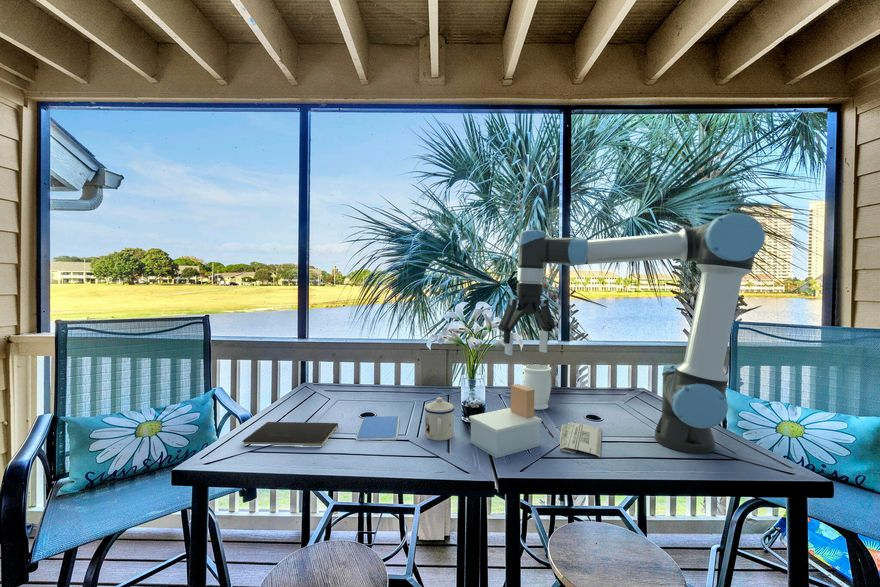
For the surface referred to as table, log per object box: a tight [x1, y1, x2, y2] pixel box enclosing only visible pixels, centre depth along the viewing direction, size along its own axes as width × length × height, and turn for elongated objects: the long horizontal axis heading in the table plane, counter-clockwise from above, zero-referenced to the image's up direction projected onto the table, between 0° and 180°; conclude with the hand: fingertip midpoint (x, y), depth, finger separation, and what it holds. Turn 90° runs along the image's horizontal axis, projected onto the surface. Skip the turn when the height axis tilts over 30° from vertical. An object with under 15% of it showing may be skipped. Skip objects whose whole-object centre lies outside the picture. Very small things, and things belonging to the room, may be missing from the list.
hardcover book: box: [241, 421, 339, 447], centre depth 123 cm, size 16×23×2 cm
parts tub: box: [470, 419, 541, 459], centre depth 117 cm, size 12×16×7 cm
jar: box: [522, 364, 552, 411], centre depth 152 cm, size 11×10×15 cm
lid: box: [468, 383, 543, 433], centre depth 117 cm, size 13×17×9 cm
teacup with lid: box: [424, 396, 455, 442], centre depth 122 cm, size 12×9×12 cm
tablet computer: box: [354, 415, 400, 441], centre depth 129 cm, size 19×13×1 cm, turn 3°
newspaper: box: [558, 422, 603, 458], centre depth 120 cm, size 23×12×2 cm, turn 157°
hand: (526, 353), depth 122 cm, fingers open, 13 cm apart
